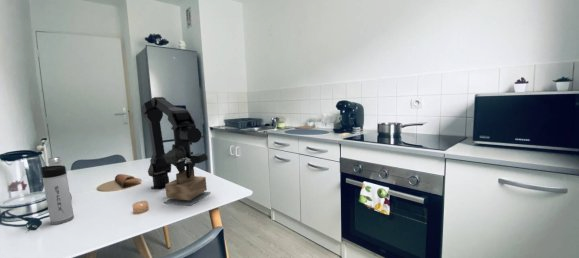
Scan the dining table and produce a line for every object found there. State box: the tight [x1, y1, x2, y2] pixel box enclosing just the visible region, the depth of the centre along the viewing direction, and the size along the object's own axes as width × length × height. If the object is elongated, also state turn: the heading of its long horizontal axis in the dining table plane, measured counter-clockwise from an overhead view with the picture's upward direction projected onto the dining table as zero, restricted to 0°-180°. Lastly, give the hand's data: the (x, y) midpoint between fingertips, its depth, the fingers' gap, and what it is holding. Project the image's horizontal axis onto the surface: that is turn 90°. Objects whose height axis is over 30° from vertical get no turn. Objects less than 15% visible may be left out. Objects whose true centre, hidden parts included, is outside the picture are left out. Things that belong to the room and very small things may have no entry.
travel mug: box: [40, 165, 75, 225], centre depth 90 cm, size 6×7×20 cm
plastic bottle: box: [47, 156, 73, 202], centre depth 104 cm, size 6×7×20 cm
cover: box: [165, 168, 208, 200], centre depth 105 cm, size 11×11×10 cm
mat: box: [163, 191, 211, 207], centre depth 106 cm, size 13×13×1 cm
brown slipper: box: [114, 173, 142, 189], centre depth 131 cm, size 18×7×7 cm
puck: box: [131, 200, 149, 215], centre depth 96 cm, size 5×5×3 cm
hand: (185, 178), depth 105 cm, fingers closed on cover, 2 cm apart
